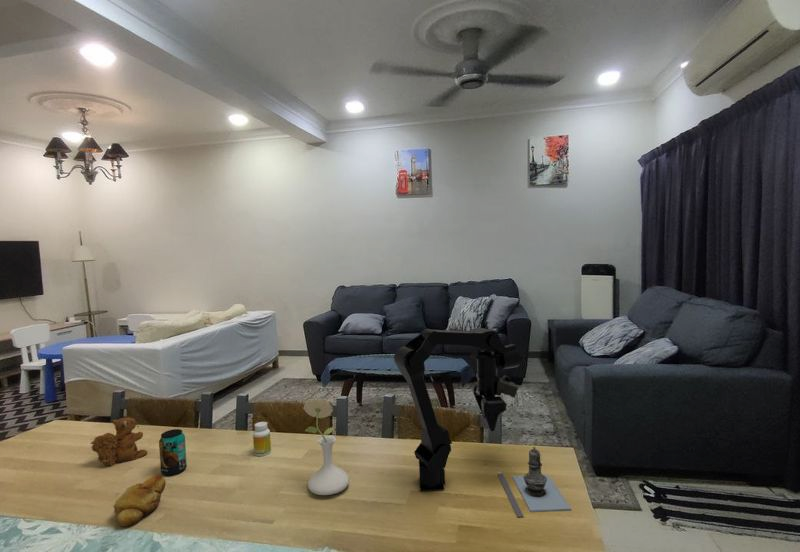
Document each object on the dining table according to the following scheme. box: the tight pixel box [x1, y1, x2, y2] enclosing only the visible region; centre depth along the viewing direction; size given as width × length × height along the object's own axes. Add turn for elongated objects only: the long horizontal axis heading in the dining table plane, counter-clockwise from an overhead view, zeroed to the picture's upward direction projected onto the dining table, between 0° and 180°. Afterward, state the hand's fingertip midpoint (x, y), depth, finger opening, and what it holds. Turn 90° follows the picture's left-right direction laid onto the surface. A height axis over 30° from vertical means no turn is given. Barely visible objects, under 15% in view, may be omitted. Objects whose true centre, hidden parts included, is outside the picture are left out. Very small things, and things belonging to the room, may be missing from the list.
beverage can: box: [158, 428, 188, 477], centre depth 130 cm, size 7×7×12 cm
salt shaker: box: [523, 446, 547, 497], centre depth 111 cm, size 6×6×12 cm
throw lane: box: [497, 472, 572, 519], centre depth 111 cm, size 14×20×1 cm
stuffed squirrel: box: [89, 416, 148, 467], centre depth 139 cm, size 10×14×13 cm
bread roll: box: [113, 473, 167, 527], centre depth 109 cm, size 13×10×8 cm
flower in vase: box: [303, 397, 350, 496], centre depth 117 cm, size 13×11×25 cm
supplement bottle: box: [252, 421, 272, 457], centre depth 140 cm, size 5×5×10 cm
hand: (488, 424), depth 124 cm, fingers open, 9 cm apart
